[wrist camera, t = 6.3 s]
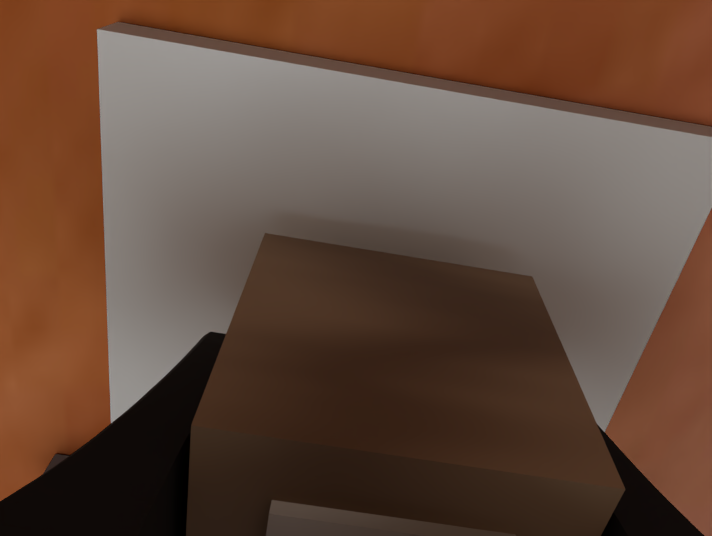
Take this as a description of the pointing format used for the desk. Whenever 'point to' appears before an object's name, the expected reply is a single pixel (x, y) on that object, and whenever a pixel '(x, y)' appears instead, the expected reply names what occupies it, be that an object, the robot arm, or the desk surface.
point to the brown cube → (393, 406)
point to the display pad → (378, 193)
